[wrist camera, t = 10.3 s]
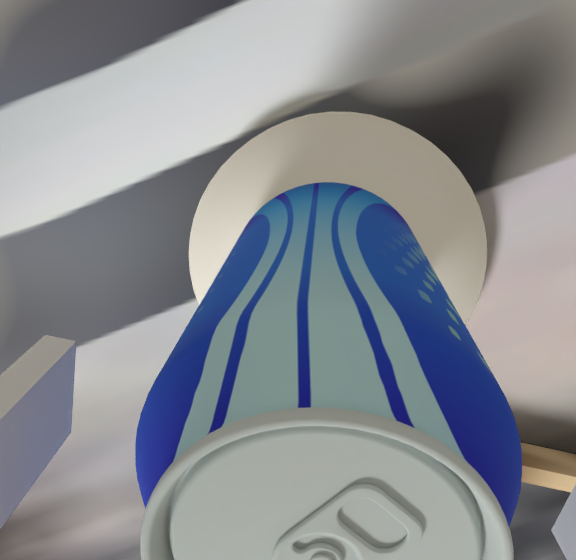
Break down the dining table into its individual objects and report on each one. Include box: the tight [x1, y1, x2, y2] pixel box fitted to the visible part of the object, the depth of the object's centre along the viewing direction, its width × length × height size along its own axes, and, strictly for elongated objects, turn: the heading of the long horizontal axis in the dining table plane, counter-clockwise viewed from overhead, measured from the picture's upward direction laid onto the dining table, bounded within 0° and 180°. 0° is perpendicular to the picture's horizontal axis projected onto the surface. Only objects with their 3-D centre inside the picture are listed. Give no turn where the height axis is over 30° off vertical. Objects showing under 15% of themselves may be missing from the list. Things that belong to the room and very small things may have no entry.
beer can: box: [136, 182, 522, 560], centre depth 16 cm, size 8×8×16 cm
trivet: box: [189, 111, 487, 325], centre depth 24 cm, size 14×14×1 cm
